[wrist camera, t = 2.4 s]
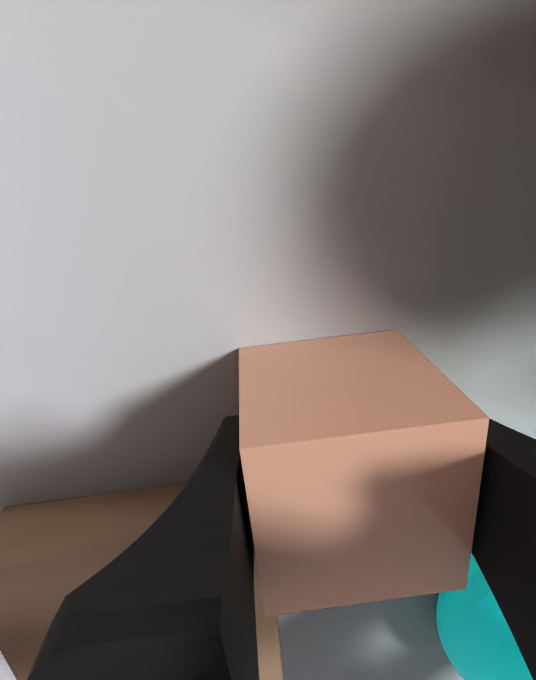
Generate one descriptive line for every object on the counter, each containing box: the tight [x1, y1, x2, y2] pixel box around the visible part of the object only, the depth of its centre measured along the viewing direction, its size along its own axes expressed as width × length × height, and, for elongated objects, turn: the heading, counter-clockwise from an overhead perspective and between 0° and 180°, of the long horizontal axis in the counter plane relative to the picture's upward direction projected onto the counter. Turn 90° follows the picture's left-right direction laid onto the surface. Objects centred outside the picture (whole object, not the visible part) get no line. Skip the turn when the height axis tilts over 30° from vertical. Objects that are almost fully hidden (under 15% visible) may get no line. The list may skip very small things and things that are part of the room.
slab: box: [0, 484, 284, 680], centre depth 15 cm, size 9×9×3 cm
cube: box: [239, 330, 489, 617], centre depth 11 cm, size 5×5×5 cm
